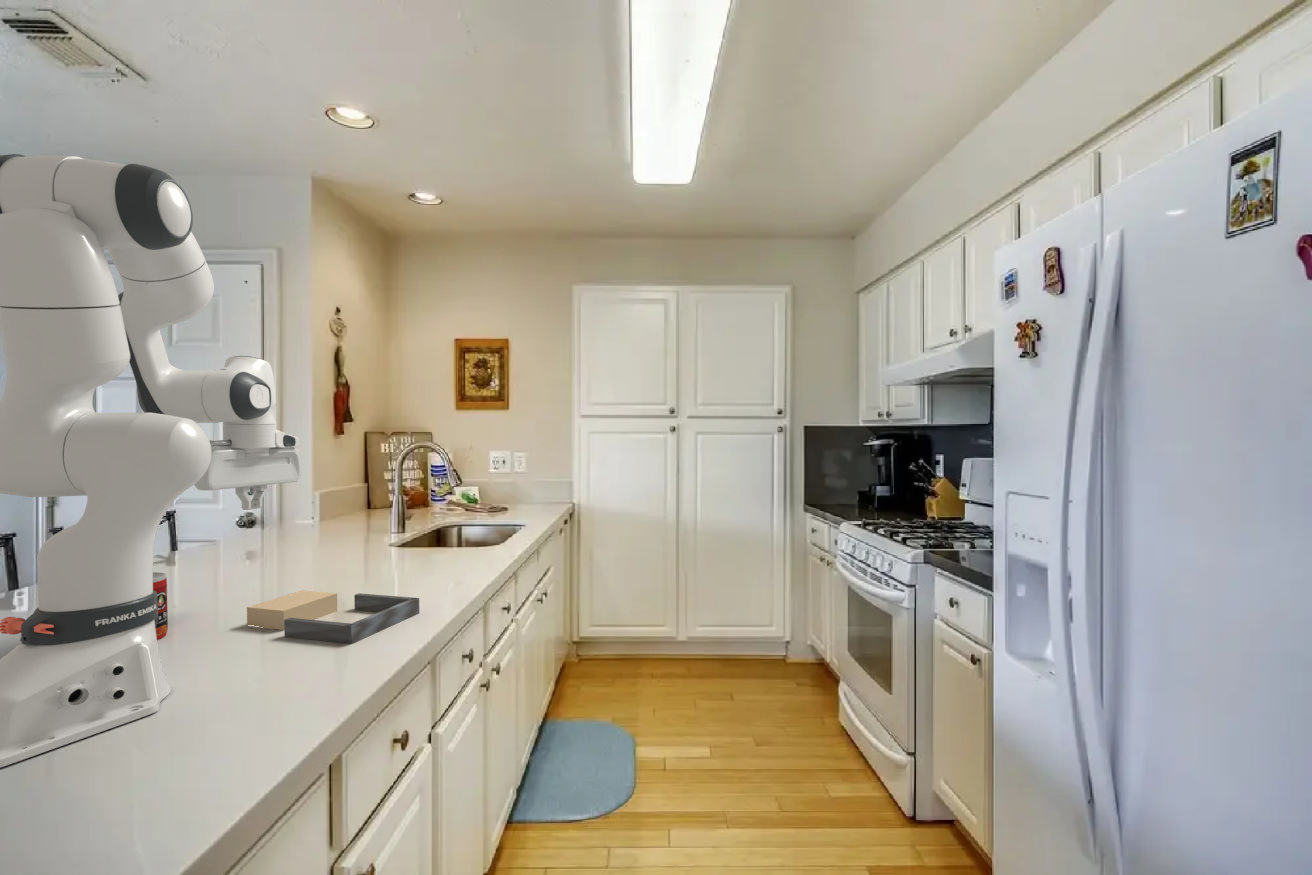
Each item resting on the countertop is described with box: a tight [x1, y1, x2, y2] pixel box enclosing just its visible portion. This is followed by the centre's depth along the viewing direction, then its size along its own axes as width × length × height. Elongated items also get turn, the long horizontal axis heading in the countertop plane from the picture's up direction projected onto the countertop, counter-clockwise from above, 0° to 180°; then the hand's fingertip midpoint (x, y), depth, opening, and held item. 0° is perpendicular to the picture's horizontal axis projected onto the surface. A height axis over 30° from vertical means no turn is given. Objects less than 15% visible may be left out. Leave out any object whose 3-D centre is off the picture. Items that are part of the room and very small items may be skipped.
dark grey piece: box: [284, 593, 420, 645], centre depth 111 cm, size 17×15×3 cm
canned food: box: [153, 571, 169, 641], centre depth 104 cm, size 8×8×11 cm
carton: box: [246, 589, 338, 631], centre depth 115 cm, size 12×9×4 cm
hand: (252, 509), depth 117 cm, fingers closed
